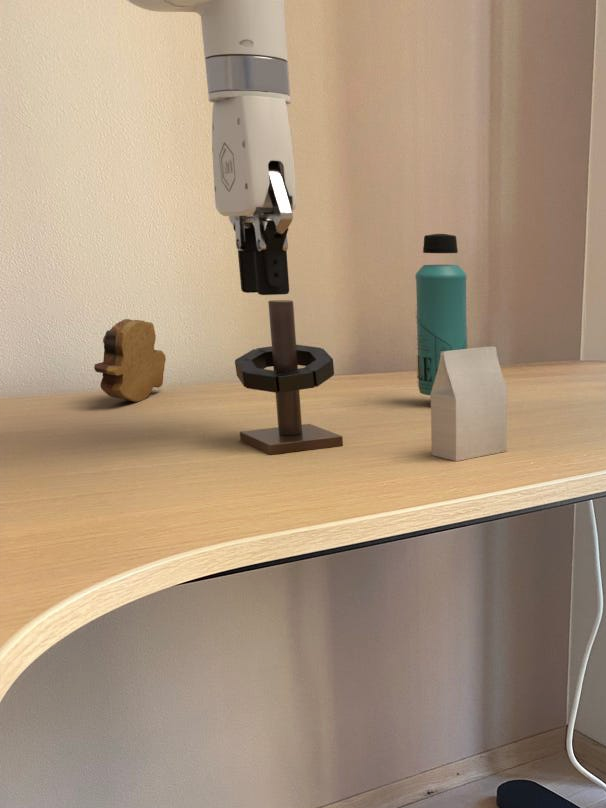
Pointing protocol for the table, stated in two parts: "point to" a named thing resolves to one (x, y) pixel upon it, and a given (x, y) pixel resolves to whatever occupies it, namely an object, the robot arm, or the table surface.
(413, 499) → the table surface
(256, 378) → the ring
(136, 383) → the wooden carving
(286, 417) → the post
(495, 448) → the grey gabled box
